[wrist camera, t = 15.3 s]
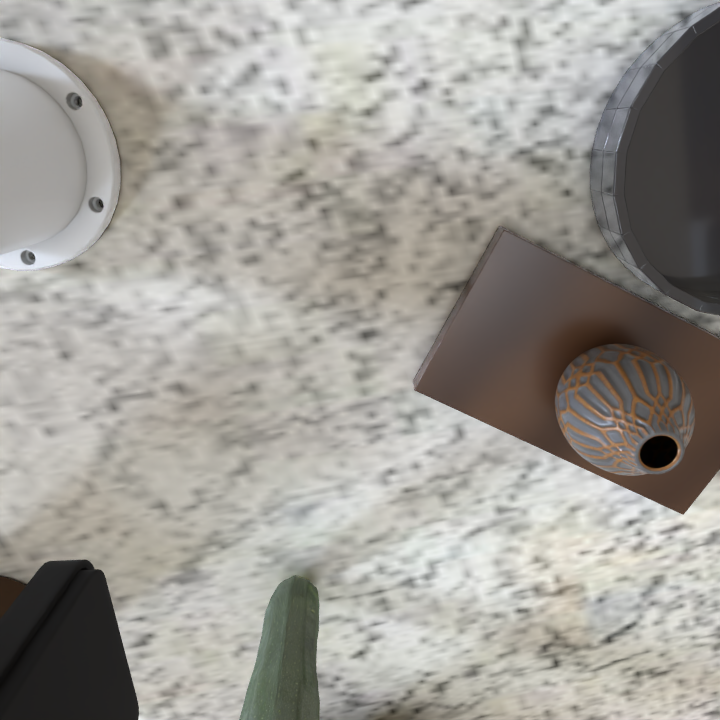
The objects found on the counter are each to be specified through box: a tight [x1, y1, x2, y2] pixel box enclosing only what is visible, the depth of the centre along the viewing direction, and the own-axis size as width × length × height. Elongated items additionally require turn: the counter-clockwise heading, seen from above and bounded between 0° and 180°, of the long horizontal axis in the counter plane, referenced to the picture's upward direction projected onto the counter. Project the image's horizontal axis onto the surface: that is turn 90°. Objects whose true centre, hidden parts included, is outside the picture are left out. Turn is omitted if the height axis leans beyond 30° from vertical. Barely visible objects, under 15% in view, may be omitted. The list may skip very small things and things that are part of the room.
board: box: [413, 226, 720, 514], centre depth 39 cm, size 20×11×2 cm, turn 64°
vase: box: [555, 344, 695, 476], centre depth 34 cm, size 7×7×9 cm
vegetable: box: [239, 576, 320, 720], centre depth 37 cm, size 4×4×20 cm
